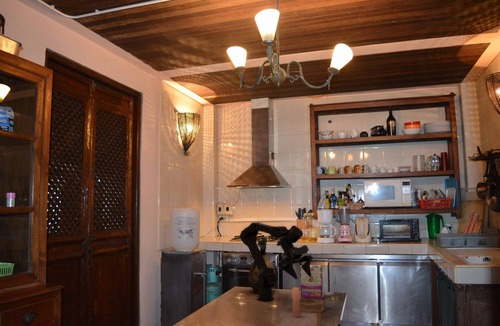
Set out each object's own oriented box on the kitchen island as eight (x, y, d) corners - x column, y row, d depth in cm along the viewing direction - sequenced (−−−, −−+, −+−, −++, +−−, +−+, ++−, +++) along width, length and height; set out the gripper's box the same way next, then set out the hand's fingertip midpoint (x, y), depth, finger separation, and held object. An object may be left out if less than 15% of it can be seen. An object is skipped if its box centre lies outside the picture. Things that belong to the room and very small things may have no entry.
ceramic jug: (274, 296, 209) (273, 238, 212) (245, 295, 212) (245, 238, 216) (278, 289, 226) (277, 236, 229) (251, 288, 229) (251, 236, 232)
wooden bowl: (293, 310, 180) (293, 302, 181) (303, 304, 191) (303, 297, 191) (318, 314, 174) (318, 305, 175) (327, 307, 185) (327, 300, 185)
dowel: (291, 316, 171) (291, 288, 172) (294, 315, 173) (294, 287, 174) (298, 317, 169) (297, 289, 170) (300, 316, 172) (300, 287, 173)
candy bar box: (323, 297, 206) (322, 265, 208) (322, 299, 201) (321, 266, 203) (302, 295, 209) (301, 264, 211) (300, 297, 205) (300, 265, 206)
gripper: (284, 240, 181) (299, 270, 172) (311, 238, 192) (327, 266, 184) (271, 253, 187) (285, 283, 178) (298, 250, 199) (313, 278, 190)
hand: (303, 277), depth 182 cm, fingers open, 9 cm apart
